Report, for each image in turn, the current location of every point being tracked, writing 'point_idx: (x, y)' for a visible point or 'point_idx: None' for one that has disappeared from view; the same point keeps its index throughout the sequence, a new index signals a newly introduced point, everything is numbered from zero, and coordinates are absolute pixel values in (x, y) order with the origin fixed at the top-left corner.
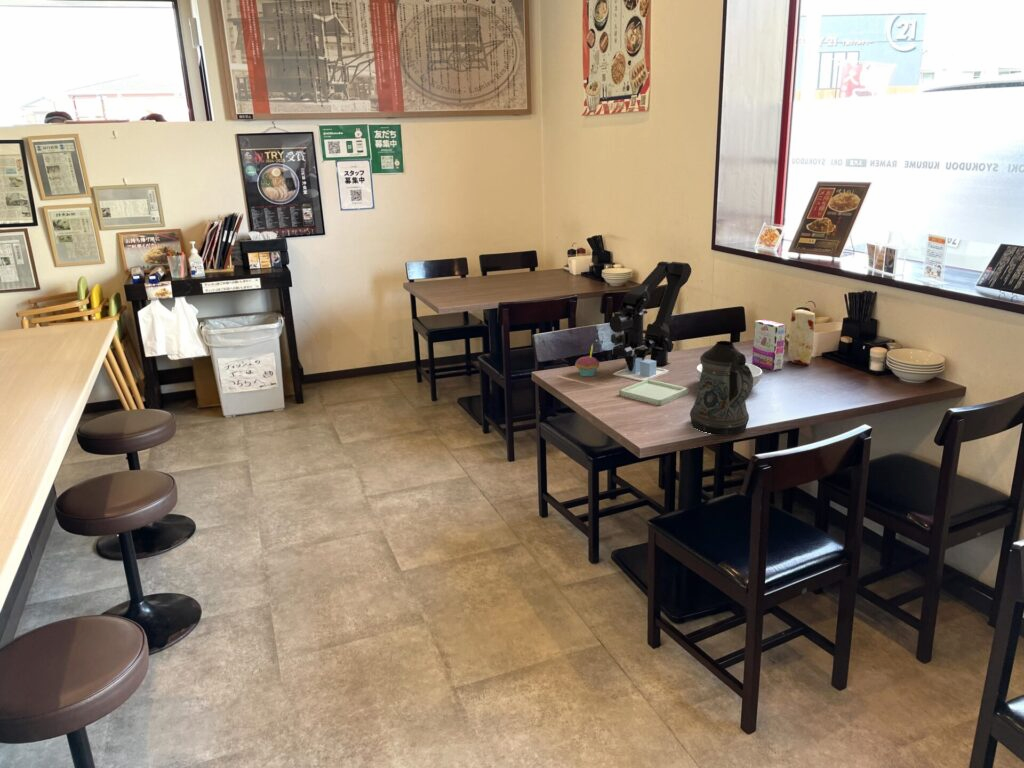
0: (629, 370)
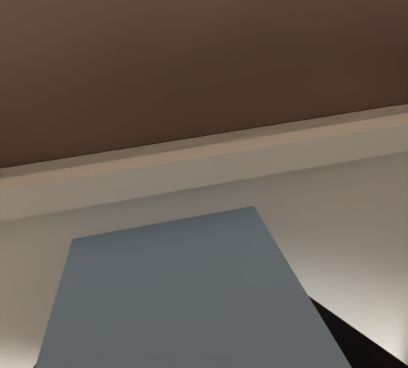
0: None
